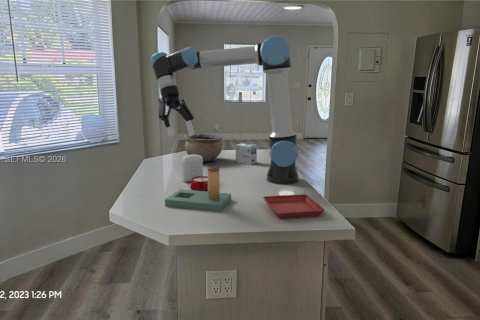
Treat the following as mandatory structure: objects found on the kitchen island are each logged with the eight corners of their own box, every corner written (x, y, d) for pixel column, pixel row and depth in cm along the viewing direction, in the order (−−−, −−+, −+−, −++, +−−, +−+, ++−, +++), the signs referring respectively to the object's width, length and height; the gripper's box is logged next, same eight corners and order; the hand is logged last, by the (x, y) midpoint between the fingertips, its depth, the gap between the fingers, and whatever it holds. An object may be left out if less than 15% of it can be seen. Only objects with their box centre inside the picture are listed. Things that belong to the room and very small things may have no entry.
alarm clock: (213, 175, 171) (213, 176, 156) (213, 189, 171) (213, 191, 156) (190, 176, 170) (188, 177, 156) (190, 189, 170) (189, 192, 155)
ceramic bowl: (202, 155, 234) (202, 131, 231) (230, 160, 221) (230, 135, 218) (177, 161, 216) (176, 136, 213) (205, 166, 204) (205, 139, 200)
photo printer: (200, 177, 181) (199, 152, 178) (204, 179, 178) (204, 154, 175) (180, 180, 175) (180, 155, 173) (184, 182, 172) (184, 156, 169)
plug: (220, 196, 144) (220, 166, 141) (217, 200, 140) (217, 169, 137) (210, 195, 145) (209, 165, 142) (206, 199, 141) (205, 168, 138)
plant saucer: (325, 218, 130) (325, 209, 130) (276, 221, 127) (276, 212, 126) (305, 201, 148) (306, 193, 147) (262, 204, 144) (262, 196, 143)
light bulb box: (256, 163, 214) (257, 144, 212) (251, 165, 209) (251, 146, 206) (241, 160, 220) (241, 142, 217) (235, 162, 214) (235, 144, 212)
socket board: (231, 199, 148) (231, 193, 148) (220, 211, 135) (220, 204, 134) (180, 194, 154) (180, 189, 153) (165, 205, 141) (164, 199, 140)
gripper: (180, 95, 171) (193, 138, 168) (141, 88, 150) (155, 137, 147) (192, 88, 167) (206, 132, 165) (153, 80, 146) (169, 130, 143)
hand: (182, 134), depth 156 cm, fingers open, 13 cm apart
